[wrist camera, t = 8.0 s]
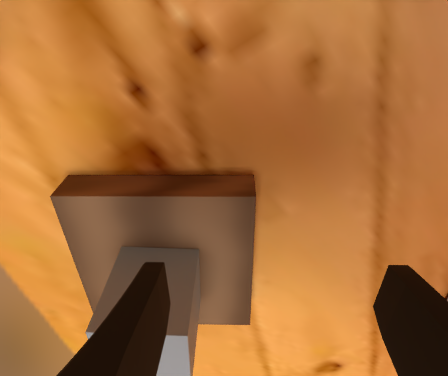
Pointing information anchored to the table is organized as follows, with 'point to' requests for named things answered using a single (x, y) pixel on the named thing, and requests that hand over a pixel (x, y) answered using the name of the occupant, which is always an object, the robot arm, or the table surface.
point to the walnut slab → (165, 231)
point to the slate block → (179, 297)
